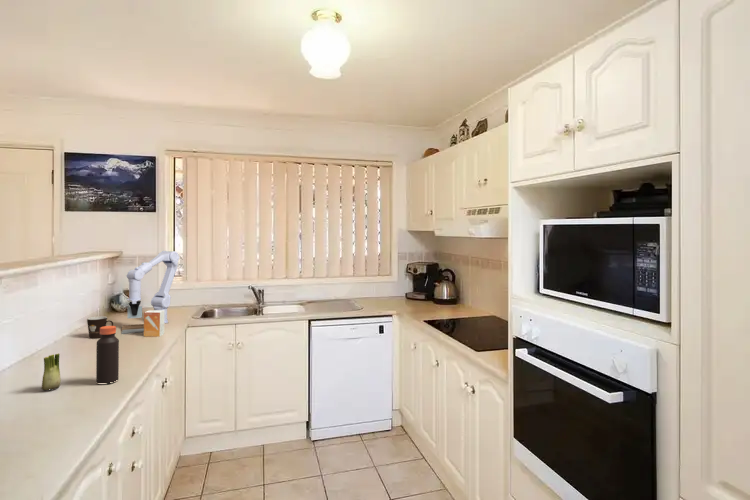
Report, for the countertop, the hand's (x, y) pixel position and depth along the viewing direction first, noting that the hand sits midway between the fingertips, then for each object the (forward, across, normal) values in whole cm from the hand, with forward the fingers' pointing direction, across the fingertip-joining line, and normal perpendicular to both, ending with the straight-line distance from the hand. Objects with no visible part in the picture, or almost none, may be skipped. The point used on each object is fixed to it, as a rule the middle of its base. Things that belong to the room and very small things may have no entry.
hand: (134, 314), depth 231 cm
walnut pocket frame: (+8, 0, 0) cm, 8 cm away
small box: (+8, +22, +10) cm, 26 cm away
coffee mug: (+8, +18, -15) cm, 24 cm away
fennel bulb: (+8, +94, -20) cm, 96 cm away
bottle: (+8, +92, -4) cm, 93 cm away
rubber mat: (+8, +9, 0) cm, 12 cm away
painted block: (+2, 0, 0) cm, 2 cm away
